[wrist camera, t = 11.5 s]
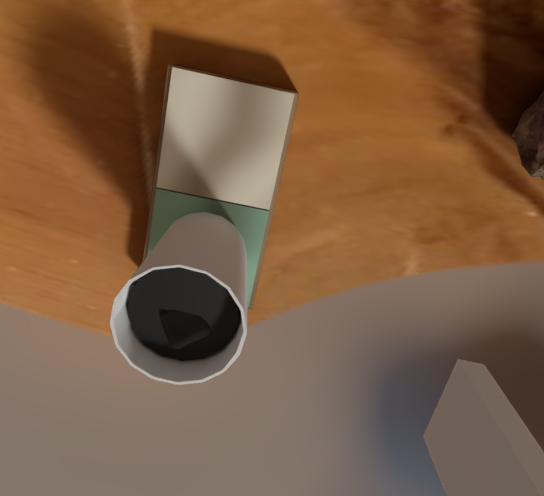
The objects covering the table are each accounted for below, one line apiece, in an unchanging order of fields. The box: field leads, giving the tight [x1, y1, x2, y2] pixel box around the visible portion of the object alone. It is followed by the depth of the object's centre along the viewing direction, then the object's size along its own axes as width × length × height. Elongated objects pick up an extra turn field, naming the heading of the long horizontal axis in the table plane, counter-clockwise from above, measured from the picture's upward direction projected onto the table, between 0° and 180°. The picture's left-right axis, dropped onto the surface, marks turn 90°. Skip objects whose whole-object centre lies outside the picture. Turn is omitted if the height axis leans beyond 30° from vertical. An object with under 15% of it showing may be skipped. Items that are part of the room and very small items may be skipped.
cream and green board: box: [143, 65, 299, 310], centre depth 34 cm, size 8×15×2 cm, turn 168°
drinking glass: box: [110, 212, 247, 385], centre depth 29 cm, size 7×7×10 cm
